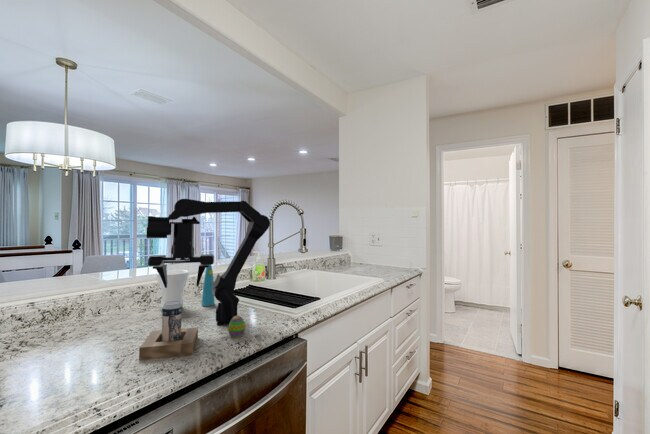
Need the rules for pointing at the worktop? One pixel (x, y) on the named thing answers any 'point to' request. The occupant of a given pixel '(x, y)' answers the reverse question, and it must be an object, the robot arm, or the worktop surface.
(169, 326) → the beer can
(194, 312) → the worktop surface
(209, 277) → the tube
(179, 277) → the cup
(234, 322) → the egg
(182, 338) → the socket
